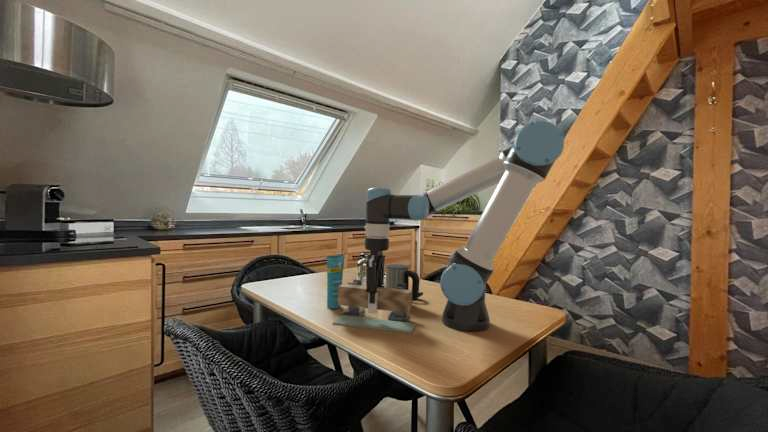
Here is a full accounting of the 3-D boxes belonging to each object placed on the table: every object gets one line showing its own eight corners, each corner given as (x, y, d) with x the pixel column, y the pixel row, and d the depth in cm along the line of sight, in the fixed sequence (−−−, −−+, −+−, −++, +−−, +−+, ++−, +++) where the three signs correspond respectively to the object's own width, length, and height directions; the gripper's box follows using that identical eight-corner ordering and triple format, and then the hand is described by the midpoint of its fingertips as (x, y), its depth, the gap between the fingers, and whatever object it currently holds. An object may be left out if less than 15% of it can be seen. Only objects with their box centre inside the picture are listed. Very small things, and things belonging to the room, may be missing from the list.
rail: (411, 309, 106) (412, 290, 106) (409, 313, 102) (410, 293, 102) (342, 301, 112) (342, 283, 111) (337, 305, 108) (338, 286, 108)
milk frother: (381, 305, 128) (382, 266, 127) (390, 295, 143) (391, 260, 143) (418, 309, 124) (420, 269, 124) (424, 298, 140) (425, 263, 139)
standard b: (364, 310, 120) (365, 280, 120) (359, 316, 114) (360, 284, 114) (348, 309, 122) (349, 278, 122) (342, 314, 116) (343, 282, 115)
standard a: (409, 315, 117) (410, 284, 116) (405, 321, 110) (406, 288, 110) (392, 313, 118) (393, 282, 118) (387, 319, 112) (388, 286, 112)
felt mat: (415, 324, 108) (415, 323, 108) (411, 333, 100) (411, 332, 100) (341, 316, 114) (341, 314, 114) (332, 323, 106) (332, 322, 106)
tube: (329, 310, 120) (331, 256, 120) (321, 307, 123) (323, 254, 123) (346, 306, 125) (347, 254, 125) (338, 303, 129) (339, 253, 128)
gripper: (373, 234, 115) (370, 302, 116) (356, 238, 99) (354, 317, 100) (394, 235, 114) (392, 304, 114) (381, 240, 97) (378, 320, 98)
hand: (374, 310), depth 107 cm, fingers closed on rail, 4 cm apart
